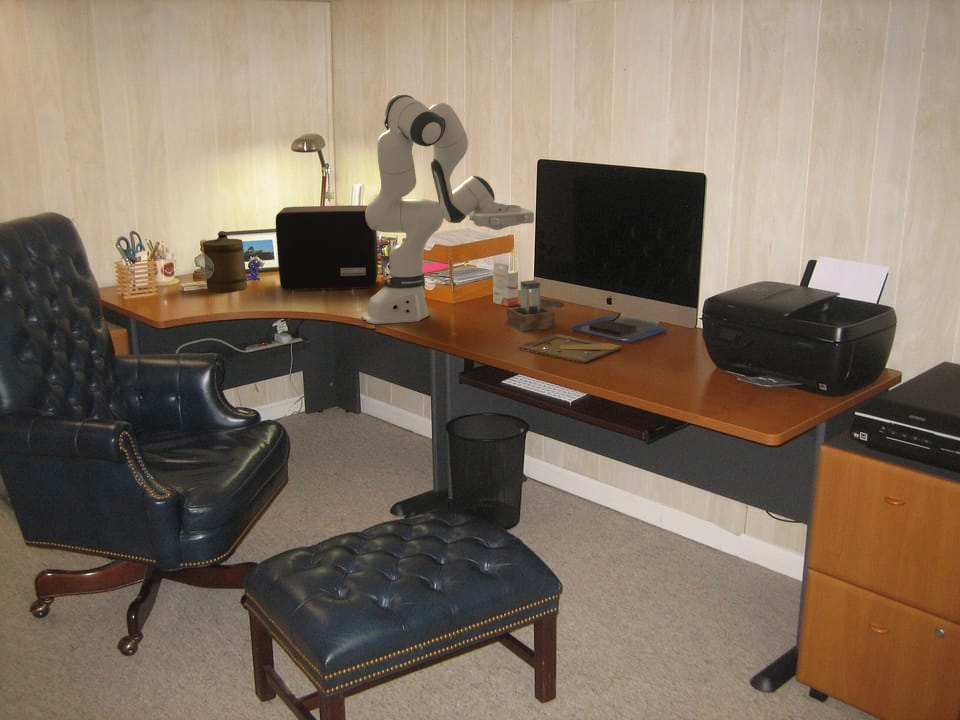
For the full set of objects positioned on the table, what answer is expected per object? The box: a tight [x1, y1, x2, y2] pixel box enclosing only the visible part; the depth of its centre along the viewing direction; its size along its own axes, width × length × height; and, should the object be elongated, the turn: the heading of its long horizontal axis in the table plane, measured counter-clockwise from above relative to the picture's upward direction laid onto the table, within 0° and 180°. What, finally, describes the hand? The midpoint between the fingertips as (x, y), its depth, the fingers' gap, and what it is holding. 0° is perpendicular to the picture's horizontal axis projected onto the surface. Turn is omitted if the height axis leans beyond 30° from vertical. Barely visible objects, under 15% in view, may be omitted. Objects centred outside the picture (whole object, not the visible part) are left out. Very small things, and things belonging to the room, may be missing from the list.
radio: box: [275, 204, 379, 291], centre depth 360 cm, size 36×18×30 cm, turn 94°
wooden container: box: [202, 230, 248, 293], centre depth 360 cm, size 15×15×22 cm
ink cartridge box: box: [492, 261, 519, 307], centre depth 331 cm, size 9×5×15 cm, turn 39°
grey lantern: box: [520, 279, 541, 315], centre depth 301 cm, size 5×5×13 cm
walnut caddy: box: [506, 305, 555, 332], centre depth 302 cm, size 11×11×5 cm
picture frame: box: [517, 333, 622, 364], centre depth 276 cm, size 19×2×24 cm
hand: (513, 221), depth 305 cm, fingers open, 8 cm apart
